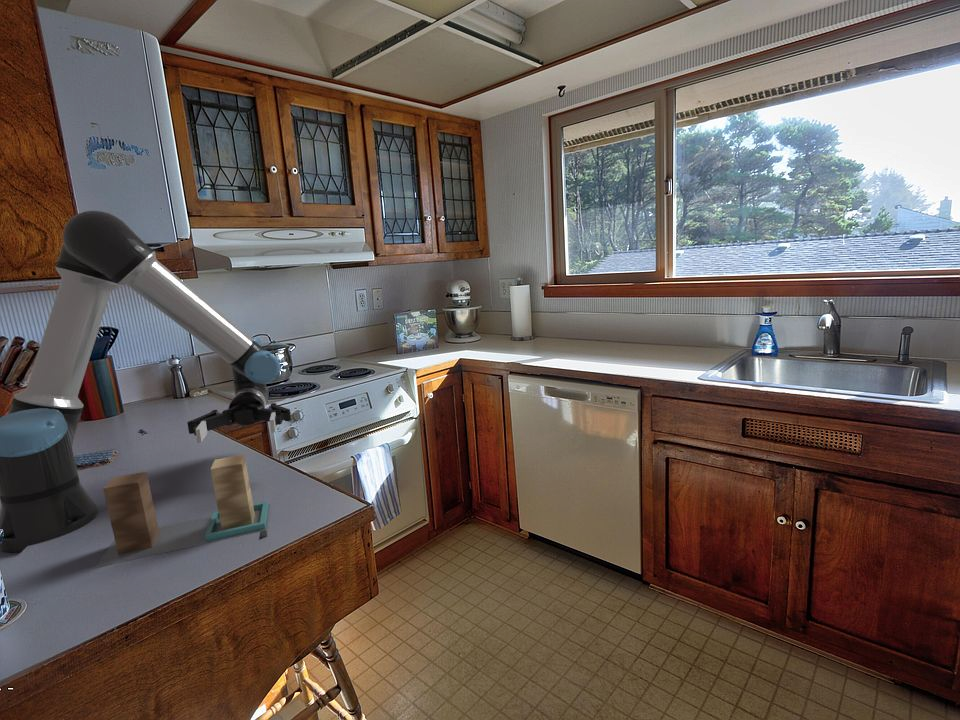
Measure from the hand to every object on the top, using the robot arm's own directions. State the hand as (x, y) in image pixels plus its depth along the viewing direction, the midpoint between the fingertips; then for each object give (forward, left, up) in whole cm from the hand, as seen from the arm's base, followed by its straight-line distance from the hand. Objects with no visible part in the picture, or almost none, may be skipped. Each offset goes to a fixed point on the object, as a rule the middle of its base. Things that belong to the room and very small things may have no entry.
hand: (236, 431), depth 102 cm
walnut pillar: (-18, -8, -14) cm, 25 cm away
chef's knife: (-23, +73, -16) cm, 79 cm away
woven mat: (-34, +57, -16) cm, 68 cm away
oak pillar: (-2, -11, -14) cm, 18 cm away
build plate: (-10, -10, -16) cm, 21 cm away
